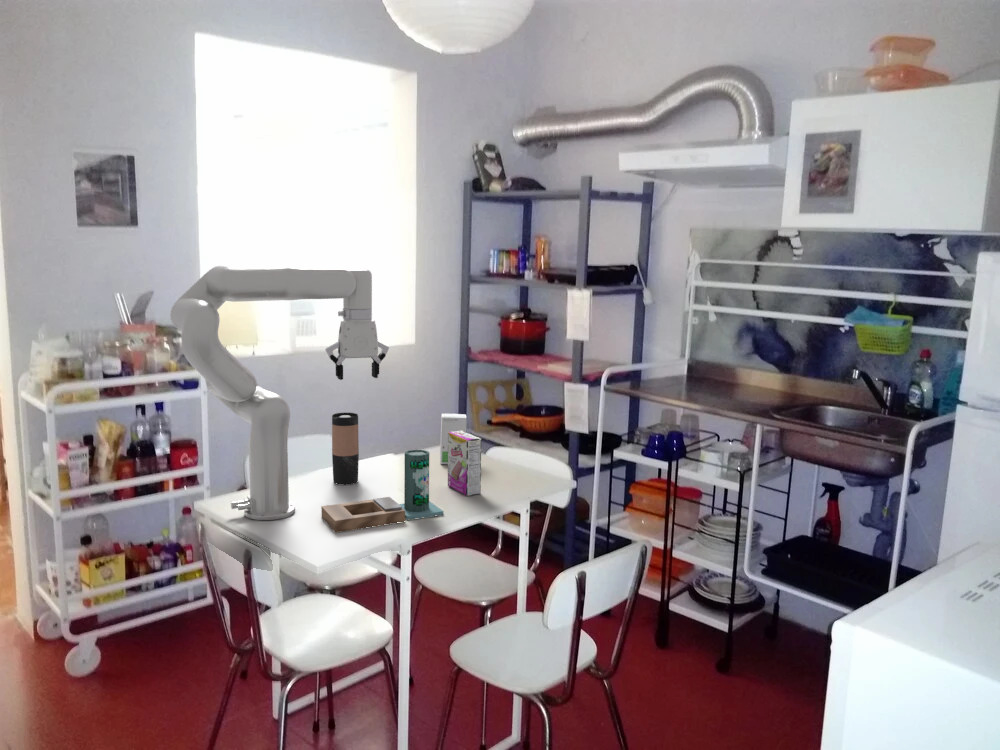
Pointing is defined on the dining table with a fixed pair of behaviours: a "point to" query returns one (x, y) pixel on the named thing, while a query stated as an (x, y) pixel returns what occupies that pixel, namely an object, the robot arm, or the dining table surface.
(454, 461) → the candy bar box
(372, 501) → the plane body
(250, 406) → the robot arm
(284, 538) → the dining table surface
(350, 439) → the travel mug
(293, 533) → the dining table surface
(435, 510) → the rubber mat
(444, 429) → the skincare box
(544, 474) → the dining table surface
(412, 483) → the can
